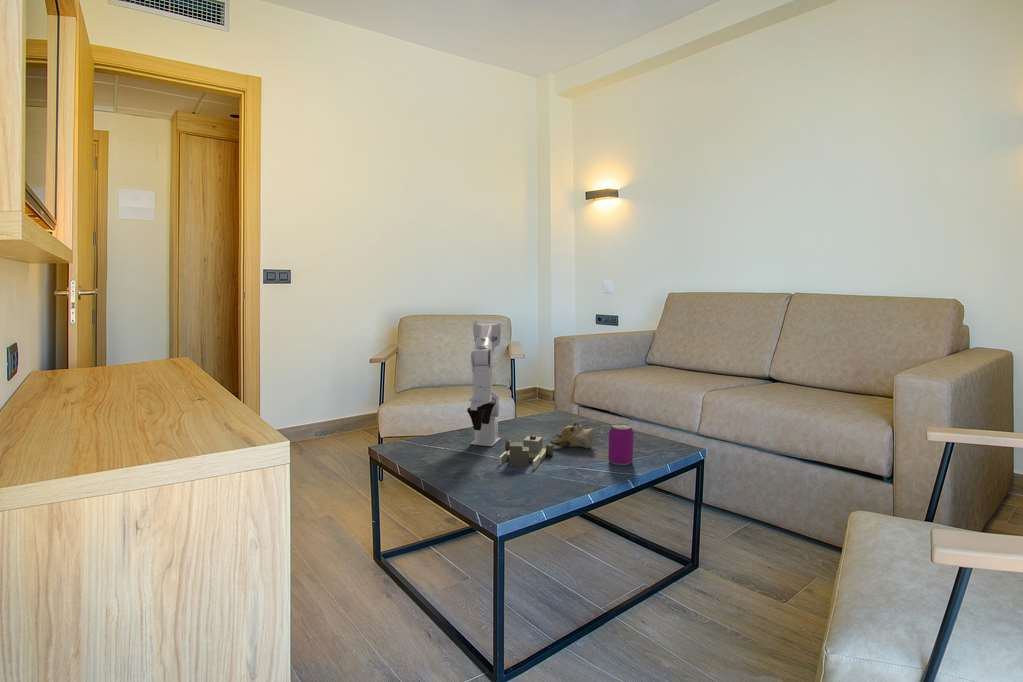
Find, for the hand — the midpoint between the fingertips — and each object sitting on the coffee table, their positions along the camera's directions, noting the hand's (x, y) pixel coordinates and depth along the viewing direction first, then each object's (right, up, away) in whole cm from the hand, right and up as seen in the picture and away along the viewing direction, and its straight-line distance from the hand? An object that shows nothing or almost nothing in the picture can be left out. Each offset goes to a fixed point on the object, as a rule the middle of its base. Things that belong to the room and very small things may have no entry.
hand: (481, 426), depth 186 cm
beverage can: (+45, -11, -4) cm, 46 cm away
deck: (+14, -10, -1) cm, 17 cm away
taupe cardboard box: (+12, -11, -6) cm, 17 cm away
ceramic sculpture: (+31, -9, +12) cm, 35 cm away
